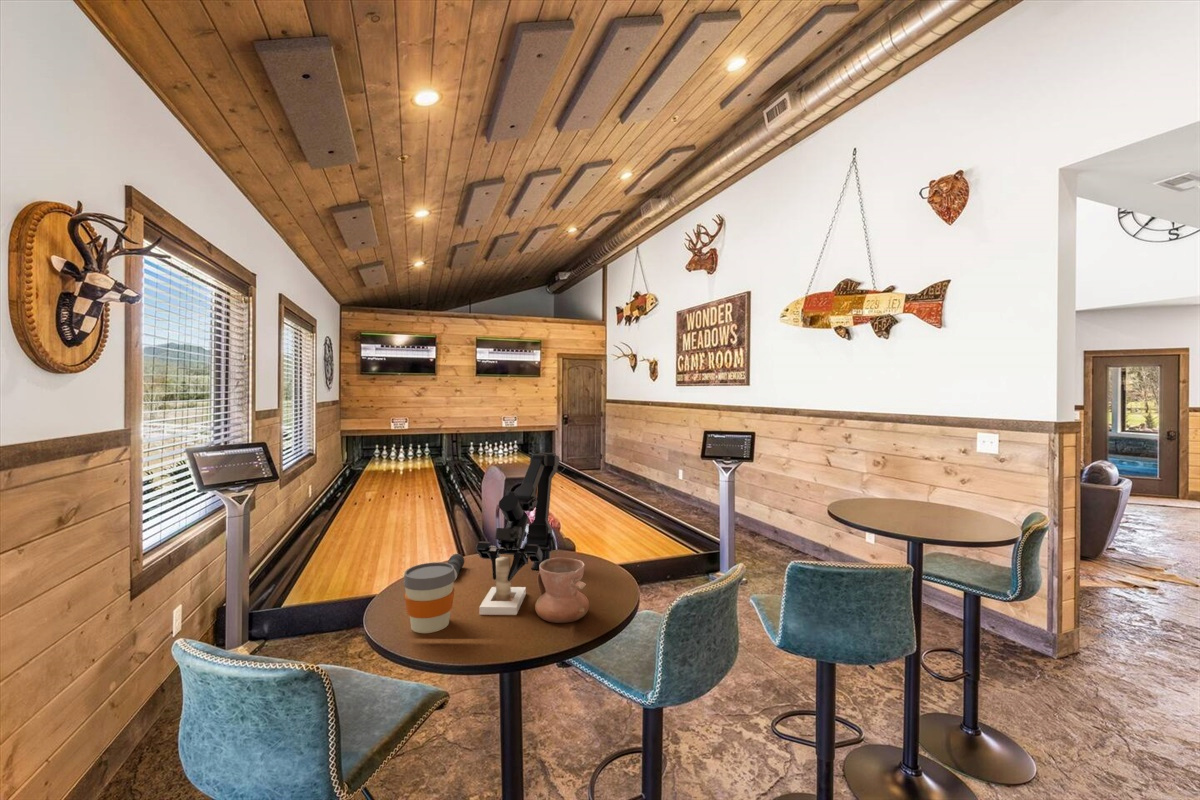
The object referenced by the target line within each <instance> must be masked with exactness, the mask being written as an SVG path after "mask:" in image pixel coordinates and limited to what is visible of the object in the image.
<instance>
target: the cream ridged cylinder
mask: <svg viewBox="0 0 1200 800" xmlns="http://www.w3.org/2000/svg"><path fill="white" fill-rule="evenodd" d="M510 569H511V558H510V557H509V556H500V557H499V558H496V580H495V587H496V601H511V587H512V586H511V580H512V579H511V580H510V581H508V575H509V572H510Z"/></svg>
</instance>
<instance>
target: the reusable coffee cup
mask: <svg viewBox="0 0 1200 800" xmlns="http://www.w3.org/2000/svg"><path fill="white" fill-rule="evenodd" d="M403 575H404V576H403V587H404V589H405V594H404V598H405V599H404V601H405V606H406V607H405V608H406V612H407V613H406V614H407V615H408V616H409V620H410V628H411V631H413V632H414V633H418V634H430V633H435V632H438V631H441V630H443V629H445V628H447V626H449V624H450V618H451V617H450V615H451V610H452V609H453V606H454V605H453V603H454V597H455V588H454V582H455V581H456V580H455V572H454V566H453V565H451V564H448V562H437V561H434V562H426V563H420V564H416V565H413V566H410V567H409V568H407V569H406V570H405V571H404V574H403Z"/></svg>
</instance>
